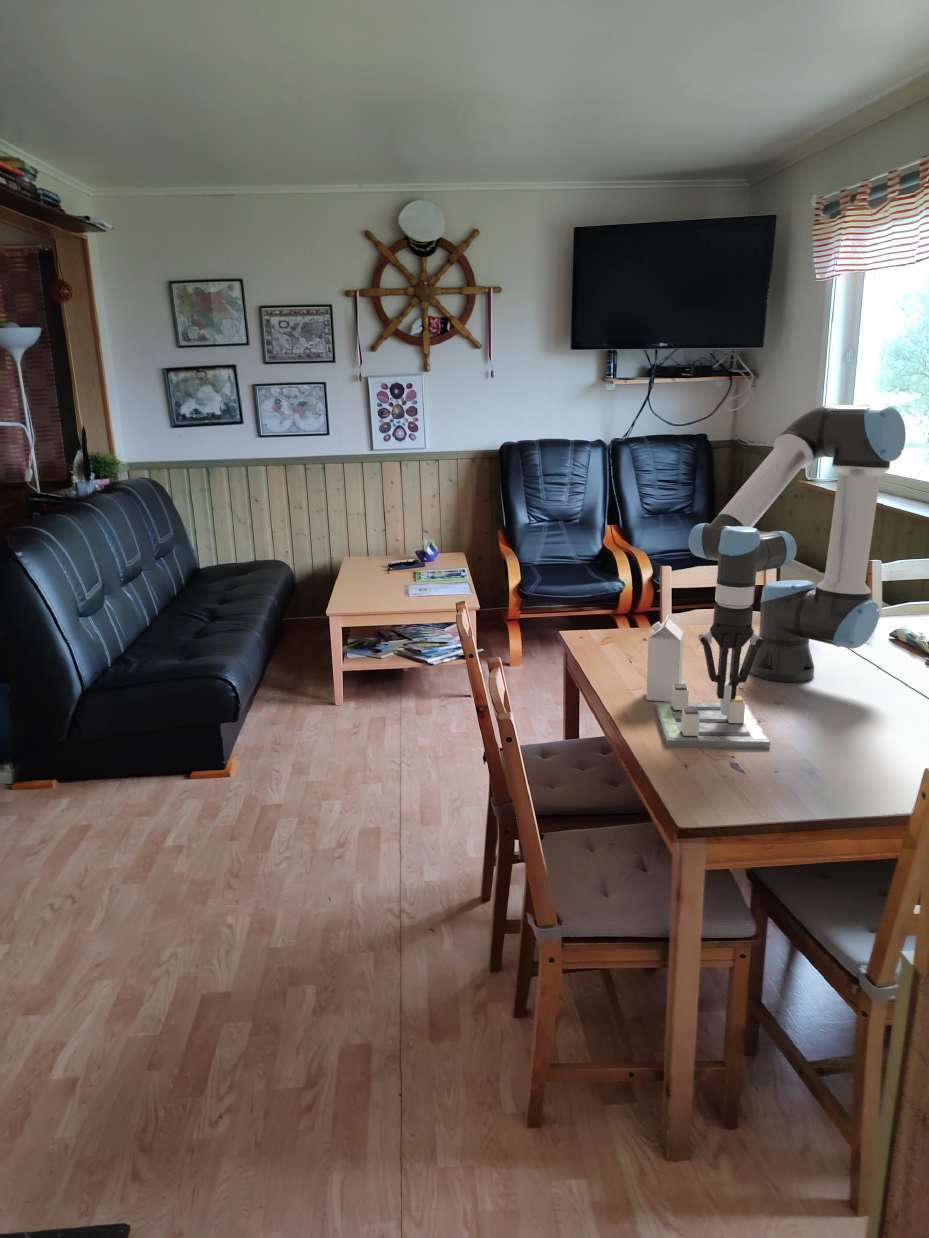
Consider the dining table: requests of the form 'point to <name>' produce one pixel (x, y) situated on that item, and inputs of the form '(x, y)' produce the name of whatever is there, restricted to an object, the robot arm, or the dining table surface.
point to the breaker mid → (736, 710)
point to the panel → (710, 728)
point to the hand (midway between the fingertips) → (724, 712)
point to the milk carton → (664, 660)
